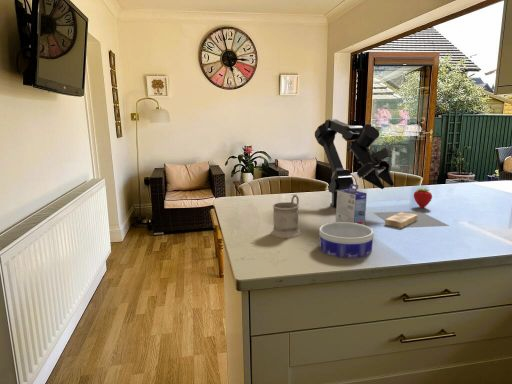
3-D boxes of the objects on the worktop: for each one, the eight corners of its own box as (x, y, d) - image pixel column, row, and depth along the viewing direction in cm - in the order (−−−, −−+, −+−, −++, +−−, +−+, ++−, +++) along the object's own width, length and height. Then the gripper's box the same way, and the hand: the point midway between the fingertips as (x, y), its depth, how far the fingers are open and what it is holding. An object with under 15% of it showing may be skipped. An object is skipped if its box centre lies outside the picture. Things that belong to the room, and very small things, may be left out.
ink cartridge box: (366, 226, 125) (367, 186, 123) (354, 229, 123) (355, 188, 120) (346, 220, 134) (348, 182, 131) (335, 222, 132) (336, 183, 129)
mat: (395, 228, 122) (395, 227, 122) (373, 213, 142) (373, 212, 142) (449, 226, 124) (449, 225, 123) (419, 211, 143) (419, 210, 143)
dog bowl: (381, 257, 99) (382, 236, 97) (326, 260, 98) (327, 239, 96) (360, 239, 114) (361, 220, 112) (313, 241, 112) (313, 222, 111)
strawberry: (424, 211, 144) (426, 187, 142) (409, 207, 150) (410, 184, 148) (434, 209, 146) (436, 185, 144) (418, 205, 153) (420, 182, 151)
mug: (292, 239, 114) (292, 203, 111) (265, 235, 119) (265, 199, 117) (310, 227, 126) (311, 194, 123) (285, 223, 131) (285, 191, 128)
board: (401, 217, 135) (384, 224, 126) (401, 212, 134) (385, 219, 125) (417, 220, 130) (401, 228, 122) (417, 214, 130) (402, 222, 121)
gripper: (368, 140, 124) (396, 176, 119) (389, 139, 138) (415, 171, 133) (345, 160, 131) (371, 195, 126) (368, 157, 145) (391, 188, 140)
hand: (388, 186), depth 131 cm, fingers open, 9 cm apart
